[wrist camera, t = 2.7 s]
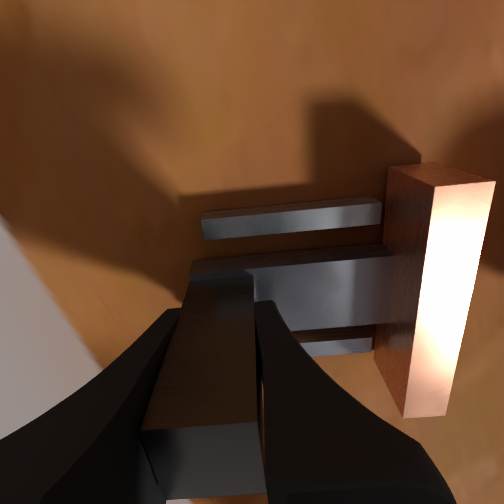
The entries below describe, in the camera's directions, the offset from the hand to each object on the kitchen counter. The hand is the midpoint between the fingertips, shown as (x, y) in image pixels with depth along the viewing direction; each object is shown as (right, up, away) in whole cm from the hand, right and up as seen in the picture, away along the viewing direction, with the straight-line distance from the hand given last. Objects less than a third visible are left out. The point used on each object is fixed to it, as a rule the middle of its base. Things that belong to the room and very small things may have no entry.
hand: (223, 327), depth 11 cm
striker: (+3, +1, +2) cm, 4 cm away
